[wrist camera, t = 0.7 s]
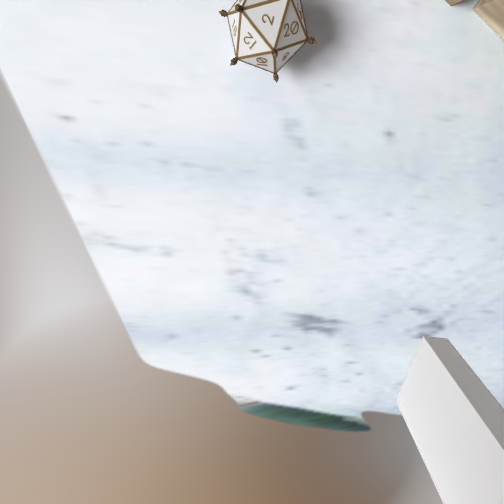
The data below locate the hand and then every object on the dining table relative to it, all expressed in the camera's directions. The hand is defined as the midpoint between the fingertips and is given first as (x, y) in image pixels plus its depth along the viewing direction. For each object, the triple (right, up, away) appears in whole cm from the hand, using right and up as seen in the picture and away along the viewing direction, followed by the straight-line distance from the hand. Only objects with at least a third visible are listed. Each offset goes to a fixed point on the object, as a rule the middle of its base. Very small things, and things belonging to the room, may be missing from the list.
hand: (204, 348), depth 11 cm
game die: (+3, +26, +26) cm, 37 cm away
